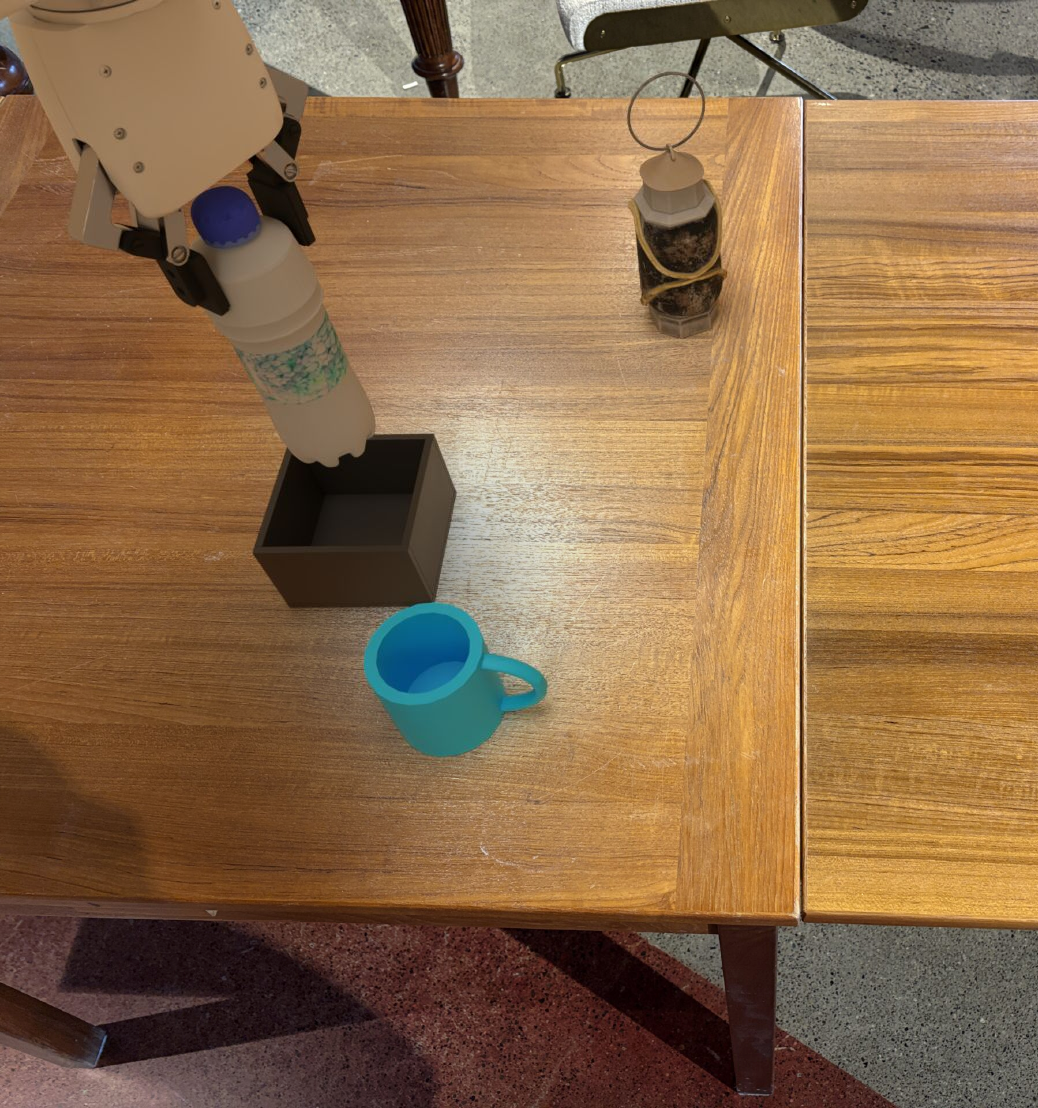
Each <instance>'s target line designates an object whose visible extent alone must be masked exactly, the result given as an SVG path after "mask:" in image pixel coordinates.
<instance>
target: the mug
mask: <svg viewBox="0 0 1038 1108" xmlns="http://www.w3.org/2000/svg"><path fill="white" fill-rule="evenodd" d="M362 668H363V671H364V674H365V679H366V682H367V683H368V685H369V687H370V688H371V690H372V691H373V692H374V694H375V696H376V697H377V699H378V700H379V702H380V703H381V705H382V707H383V708H384V709H385V711H386V713H387V714H388V716H389V718H390V719H391V721H392V722H393V724H394V725H395V727H396V728H397V729H398V731H399V733H400V734H401V736H402V737H403V738H404V740H405V741H406V742H407V744H408V745H409V746H410V747H412V748H413V749H415V750H416V751H418V752H420V753H422V754H423V755H428V756H433V757H439V758H444V757H456V756H460V755H462V754H465V753H468V752H471V751H472V750H475V749H476V748H478V747H479V746H480V745H482V744H483V743H484V742H486V741H487V740H489V739H491V737H492V735H493V734H494V733H495V731H496V730H497V728H498V727H499V726H500V725H501V723H502V720H503V717H504V714H505V712H512V711H519V710H524V709H527V708H530V707H533V706H535V705H538V704H539V703H540V702H541V701H542V700H543V699H544V698H545V697H546V696H547V693H548V680H547V679H546V678H545V676H544V674H543V673H542V672H541V671H540V670H539V669H537V668H535V667H534V666H532V665H531V664H529V663H527V662H524V661H521V660H518V659H516V658H514V657H509V656H505V655H500V654H495V653H490V651H489V648H488V646H487V643H486V641H485V639H484V636H483V634H482V631H481V629H480V627H479V624H478V623H477V622H476V621H475V620H474V619H473V617H472V616H471V615H470V613H468V612H467V611H465V610H464V609H461V608H459V607H457V606H455V605H454V604H448V603H443V602H437V601H435V602H433V603H423V604H417V605H414V606H407V607H406V608H403V609H400V610H399V611H397V612H396V613H394V614H393V615H391V616H390V617H388V618H387V619H385V620H383V622H382V623H381V624H380V625H379V626H378V628H376V630H375V631H374V632H373V633H372V634H371V637H370V638H369V641H368V643H367V645H366V647H365V649H364V656H363V665H362ZM499 673H501V674H505V675H506V674H507V675H509V676H512V677H514V678H518V679H520V680H522V681H524V682H526V683H528V684H529V685H531V687H532V688H533V689H531V690H528V691H526V692H524V693H519V694H518V693H517V694H512V695H507V692H506V688H505V687H504V684H503V680H502V678H501V676H500V674H499Z"/></svg>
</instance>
